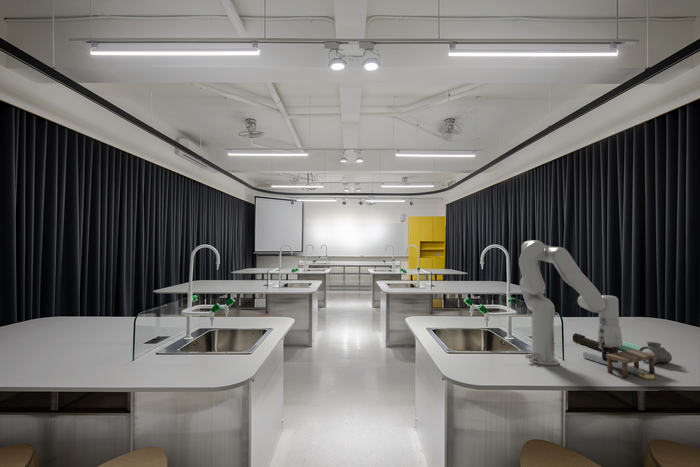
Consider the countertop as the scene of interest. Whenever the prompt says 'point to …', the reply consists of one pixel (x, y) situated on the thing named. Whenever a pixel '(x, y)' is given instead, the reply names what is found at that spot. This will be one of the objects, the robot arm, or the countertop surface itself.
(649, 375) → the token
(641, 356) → the bench
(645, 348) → the pipe fitting
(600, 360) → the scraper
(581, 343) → the hand tool
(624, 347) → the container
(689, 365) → the countertop surface
